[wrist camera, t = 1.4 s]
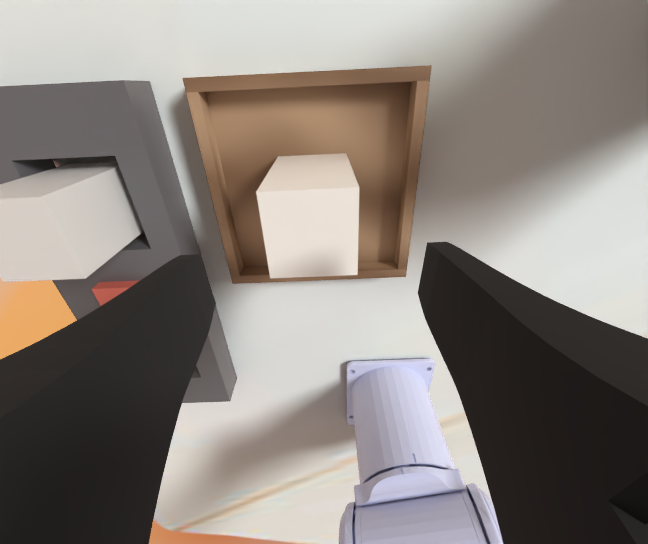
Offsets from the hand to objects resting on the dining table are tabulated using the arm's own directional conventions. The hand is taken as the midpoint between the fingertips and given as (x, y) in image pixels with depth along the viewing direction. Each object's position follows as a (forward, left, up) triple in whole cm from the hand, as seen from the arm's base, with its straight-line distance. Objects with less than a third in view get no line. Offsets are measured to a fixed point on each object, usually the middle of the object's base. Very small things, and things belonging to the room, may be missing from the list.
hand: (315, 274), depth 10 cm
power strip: (-6, +13, -11) cm, 18 cm away
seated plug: (0, +13, -11) cm, 17 cm away
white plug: (0, 0, -10) cm, 10 cm away
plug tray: (0, 0, -11) cm, 11 cm away
